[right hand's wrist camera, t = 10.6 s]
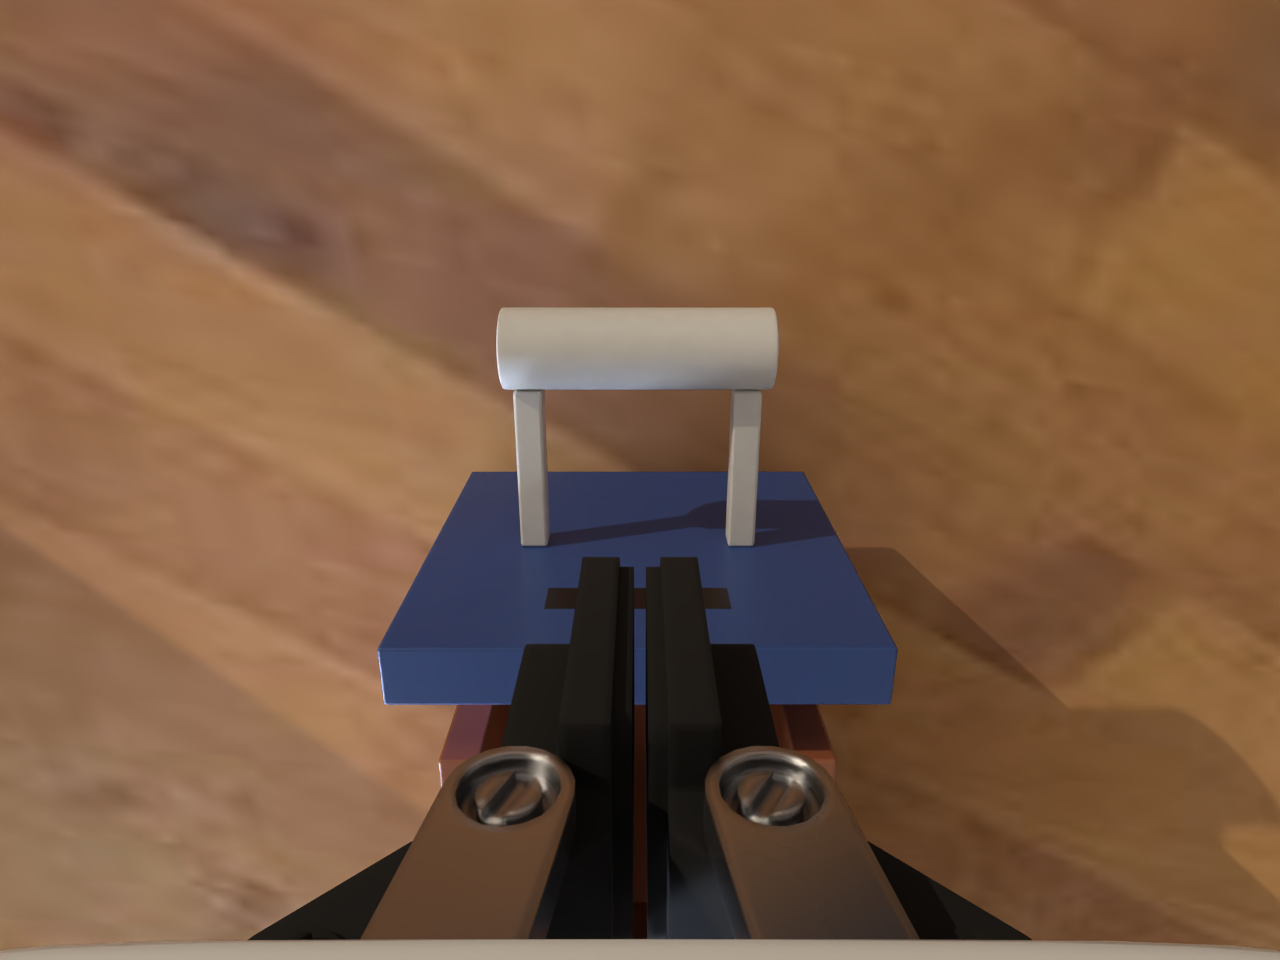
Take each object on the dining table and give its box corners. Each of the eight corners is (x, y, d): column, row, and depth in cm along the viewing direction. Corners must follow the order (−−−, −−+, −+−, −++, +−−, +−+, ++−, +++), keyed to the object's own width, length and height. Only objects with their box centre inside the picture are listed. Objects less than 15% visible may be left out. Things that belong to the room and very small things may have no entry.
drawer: (457, 278, 22) (339, 354, 13) (818, 278, 22) (935, 354, 13) (502, 892, 29) (444, 1202, 20) (773, 891, 29) (831, 1201, 20)
